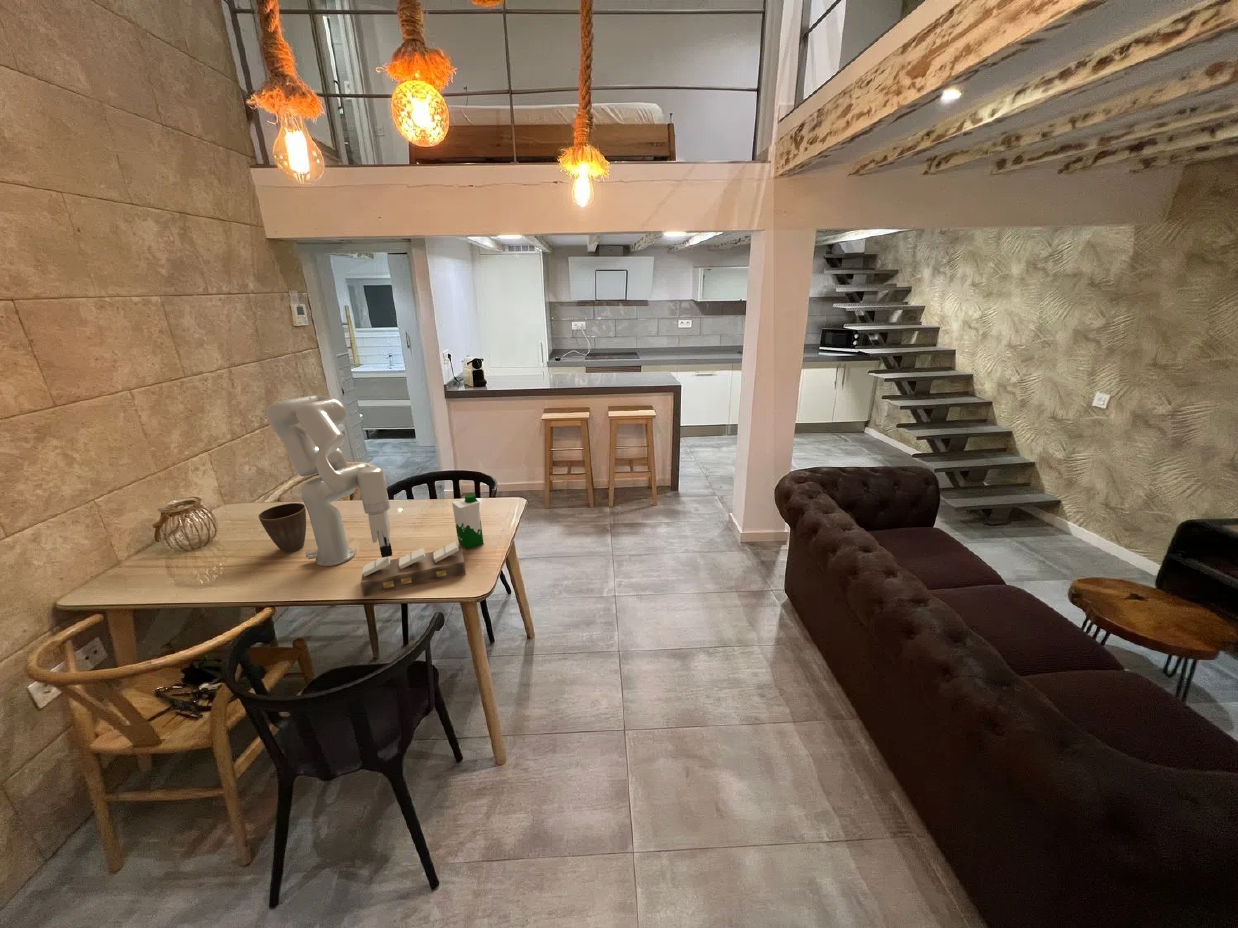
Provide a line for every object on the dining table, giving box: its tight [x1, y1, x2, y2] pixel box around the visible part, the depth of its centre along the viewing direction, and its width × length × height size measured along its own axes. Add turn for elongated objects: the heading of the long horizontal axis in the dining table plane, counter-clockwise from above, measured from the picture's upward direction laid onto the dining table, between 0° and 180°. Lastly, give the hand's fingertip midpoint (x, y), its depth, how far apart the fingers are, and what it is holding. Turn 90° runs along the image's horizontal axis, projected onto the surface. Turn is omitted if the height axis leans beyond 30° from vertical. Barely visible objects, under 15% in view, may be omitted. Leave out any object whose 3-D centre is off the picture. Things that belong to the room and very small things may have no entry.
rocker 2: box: [399, 547, 426, 569], centre depth 165 cm, size 8×5×2 cm, turn 112°
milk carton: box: [451, 493, 485, 551], centre depth 185 cm, size 9×9×20 cm
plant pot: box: [257, 502, 307, 554], centre depth 186 cm, size 15×15×16 cm
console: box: [360, 545, 467, 597], centre depth 166 cm, size 32×12×6 cm, turn 112°
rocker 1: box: [362, 556, 391, 576], centre depth 161 cm, size 8×5×2 cm, turn 112°
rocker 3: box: [433, 540, 459, 562], centre depth 169 cm, size 8×5×2 cm, turn 112°
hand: (387, 555), depth 161 cm, fingers closed
